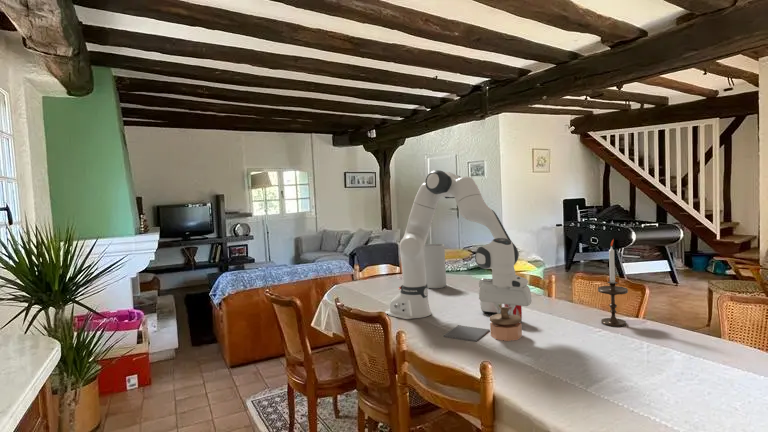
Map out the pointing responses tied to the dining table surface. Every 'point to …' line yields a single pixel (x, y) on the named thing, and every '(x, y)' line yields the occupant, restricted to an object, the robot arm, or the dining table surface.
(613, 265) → the candlestick
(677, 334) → the dining table surface
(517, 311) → the soda can
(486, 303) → the spread jar
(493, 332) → the bowl
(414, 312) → the robot arm
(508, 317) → the lid
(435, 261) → the cylinder vase
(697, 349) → the dining table surface
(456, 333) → the mat
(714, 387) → the dining table surface
